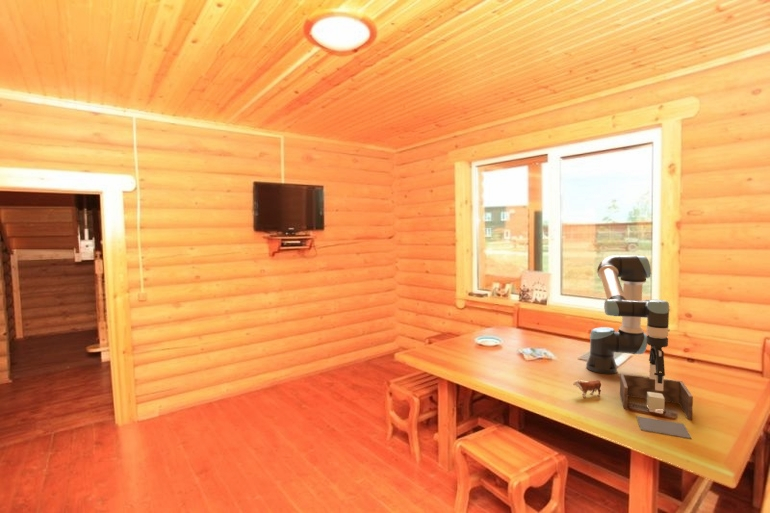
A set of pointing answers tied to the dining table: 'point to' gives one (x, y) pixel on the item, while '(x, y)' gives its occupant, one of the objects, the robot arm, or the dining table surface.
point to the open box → (656, 391)
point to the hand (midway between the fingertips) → (656, 384)
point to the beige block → (655, 400)
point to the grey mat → (663, 427)
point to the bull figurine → (588, 386)
